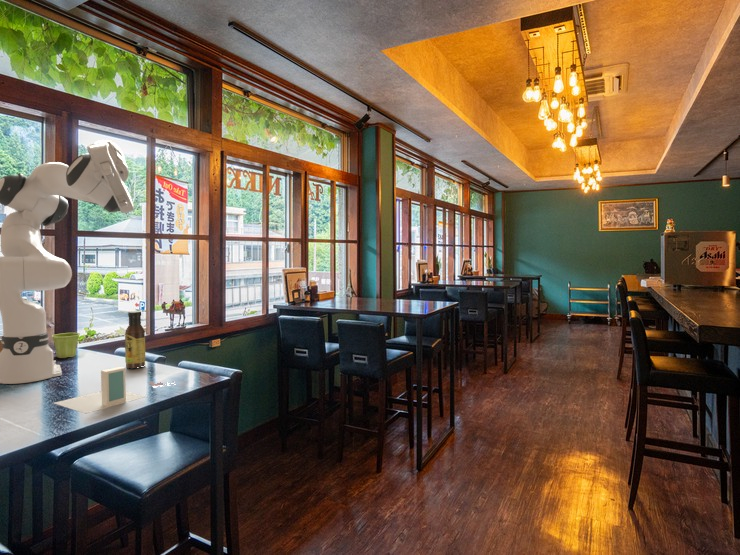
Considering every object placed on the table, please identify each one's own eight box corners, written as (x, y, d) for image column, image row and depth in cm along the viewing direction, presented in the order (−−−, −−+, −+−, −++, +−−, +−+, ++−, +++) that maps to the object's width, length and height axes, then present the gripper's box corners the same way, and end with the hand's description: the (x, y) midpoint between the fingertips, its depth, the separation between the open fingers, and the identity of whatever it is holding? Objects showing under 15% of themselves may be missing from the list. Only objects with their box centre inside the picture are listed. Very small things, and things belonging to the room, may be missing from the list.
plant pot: (85, 353, 186) (84, 332, 185) (72, 359, 176) (71, 336, 176) (61, 354, 185) (60, 332, 185) (46, 359, 176) (45, 336, 175)
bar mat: (53, 404, 121) (53, 402, 121) (113, 389, 135) (113, 388, 135) (85, 415, 113) (85, 413, 113) (146, 398, 127) (146, 396, 127)
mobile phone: (170, 372, 152) (178, 383, 140) (170, 375, 152) (178, 386, 140) (145, 376, 148) (151, 387, 136) (145, 379, 148) (151, 390, 136)
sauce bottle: (123, 367, 163) (122, 311, 162) (143, 364, 167) (141, 309, 166) (128, 370, 158) (126, 312, 157) (147, 367, 162) (146, 311, 161)
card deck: (101, 405, 120) (100, 370, 119) (120, 400, 124) (119, 366, 123) (107, 406, 118) (106, 371, 118) (126, 401, 122) (125, 367, 122)
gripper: (114, 203, 142) (120, 225, 132) (83, 140, 128) (87, 160, 119) (136, 197, 144) (143, 218, 134) (107, 135, 130) (113, 153, 121)
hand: (116, 190), depth 126 cm, fingers open, 8 cm apart
